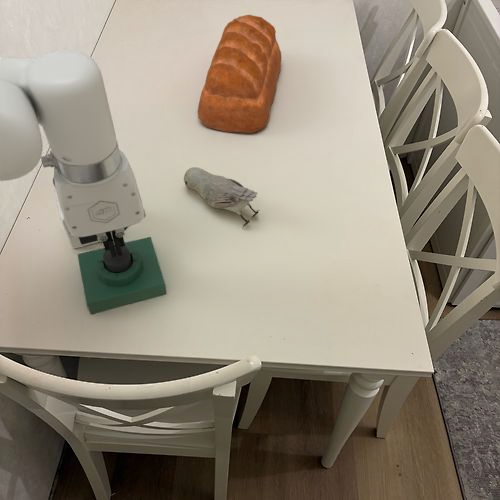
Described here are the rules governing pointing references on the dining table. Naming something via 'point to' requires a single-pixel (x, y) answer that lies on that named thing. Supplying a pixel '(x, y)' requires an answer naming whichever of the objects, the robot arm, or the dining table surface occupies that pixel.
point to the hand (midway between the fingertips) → (115, 249)
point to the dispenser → (121, 277)
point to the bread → (241, 77)
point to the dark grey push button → (117, 260)
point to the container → (74, 240)
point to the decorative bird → (220, 191)
